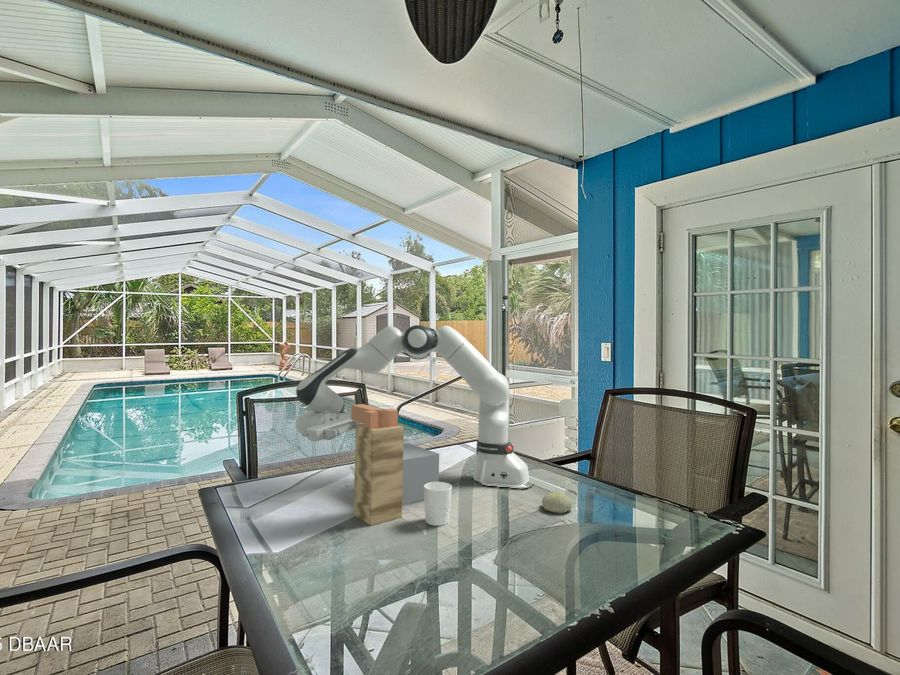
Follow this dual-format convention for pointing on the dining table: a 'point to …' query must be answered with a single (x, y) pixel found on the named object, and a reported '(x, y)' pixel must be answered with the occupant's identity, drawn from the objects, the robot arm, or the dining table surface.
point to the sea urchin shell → (556, 502)
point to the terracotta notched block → (374, 416)
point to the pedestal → (378, 473)
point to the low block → (418, 472)
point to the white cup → (437, 503)
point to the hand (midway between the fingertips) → (350, 428)
